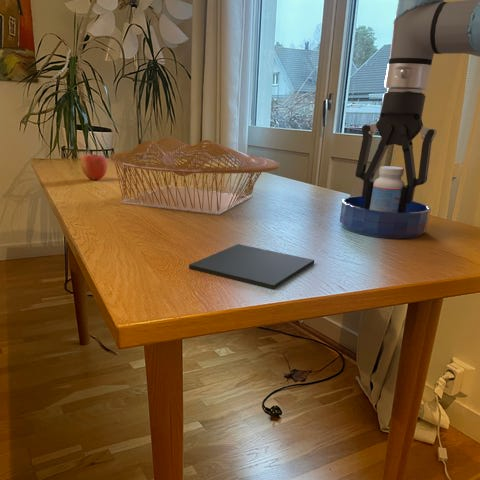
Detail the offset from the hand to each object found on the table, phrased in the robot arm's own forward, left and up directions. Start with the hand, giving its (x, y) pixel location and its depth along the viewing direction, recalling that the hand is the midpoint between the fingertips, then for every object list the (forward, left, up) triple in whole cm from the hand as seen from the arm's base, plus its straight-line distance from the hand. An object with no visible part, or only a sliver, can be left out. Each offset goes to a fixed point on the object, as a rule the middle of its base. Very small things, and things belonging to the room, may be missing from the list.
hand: (383, 216), depth 97 cm
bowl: (0, 0, -2) cm, 2 cm away
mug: (+8, -17, -3) cm, 19 cm away
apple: (+84, -2, -3) cm, 84 cm away
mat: (+9, +38, -2) cm, 39 cm away
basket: (+45, +3, -3) cm, 45 cm away
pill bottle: (0, 0, -2) cm, 2 cm away
